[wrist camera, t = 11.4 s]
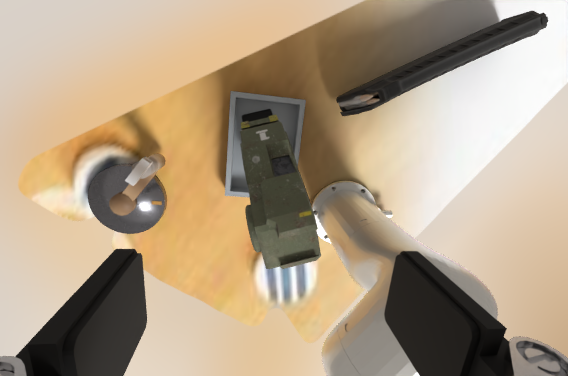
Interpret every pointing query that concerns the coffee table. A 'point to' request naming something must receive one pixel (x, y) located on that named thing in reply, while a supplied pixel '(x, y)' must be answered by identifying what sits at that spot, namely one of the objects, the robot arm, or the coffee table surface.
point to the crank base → (148, 201)
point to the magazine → (440, 62)
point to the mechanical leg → (276, 194)
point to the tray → (241, 104)
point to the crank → (136, 184)
